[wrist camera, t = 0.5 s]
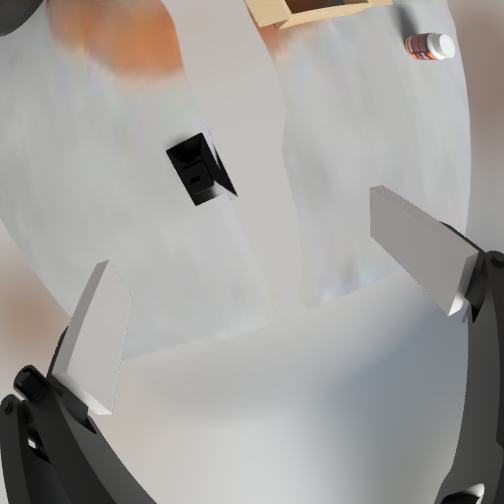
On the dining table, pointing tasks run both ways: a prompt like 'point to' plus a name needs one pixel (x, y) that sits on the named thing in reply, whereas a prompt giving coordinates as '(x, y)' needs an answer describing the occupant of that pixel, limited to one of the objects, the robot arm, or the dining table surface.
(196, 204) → the black boxy piece
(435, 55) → the pill bottle
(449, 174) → the dining table surface
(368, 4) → the carton
